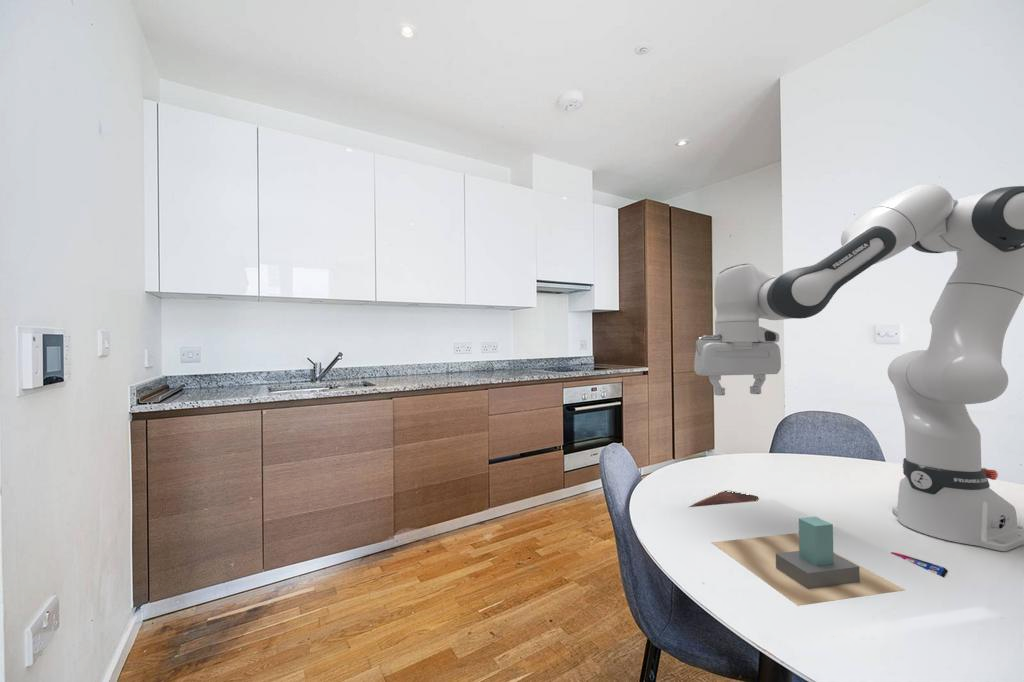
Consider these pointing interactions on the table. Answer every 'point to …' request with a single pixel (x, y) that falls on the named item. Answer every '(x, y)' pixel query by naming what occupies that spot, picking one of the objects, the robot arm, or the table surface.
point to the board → (762, 563)
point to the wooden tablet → (725, 499)
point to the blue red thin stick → (924, 565)
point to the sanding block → (816, 558)
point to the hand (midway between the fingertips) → (737, 394)
